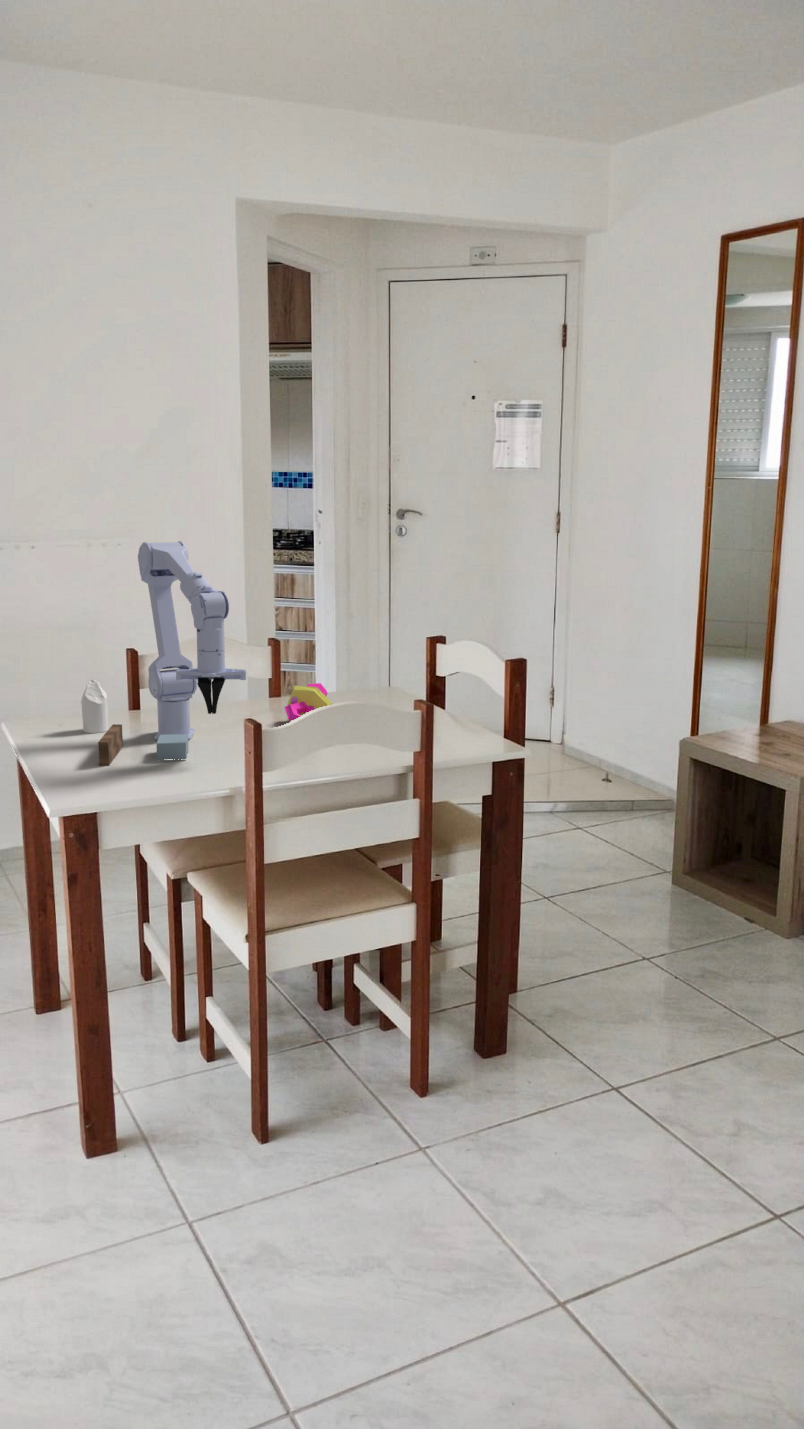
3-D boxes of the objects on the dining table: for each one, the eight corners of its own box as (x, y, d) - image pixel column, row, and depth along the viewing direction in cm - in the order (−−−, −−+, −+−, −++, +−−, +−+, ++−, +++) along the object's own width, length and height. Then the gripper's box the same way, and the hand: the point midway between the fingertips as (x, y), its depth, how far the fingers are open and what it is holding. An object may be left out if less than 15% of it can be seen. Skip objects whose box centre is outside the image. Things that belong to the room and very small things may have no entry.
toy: (271, 730, 268) (284, 697, 263) (294, 695, 283) (307, 663, 278) (310, 748, 268) (323, 715, 263) (331, 712, 283) (344, 680, 278)
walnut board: (113, 746, 248) (112, 724, 247) (122, 746, 248) (121, 724, 247) (99, 765, 232) (98, 742, 231) (109, 765, 232) (108, 742, 231)
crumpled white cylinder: (89, 683, 256) (75, 680, 259) (91, 734, 258) (77, 730, 262) (111, 679, 260) (97, 676, 264) (113, 730, 263) (99, 726, 266)
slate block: (160, 752, 244) (159, 734, 243) (188, 752, 245) (188, 734, 244) (157, 761, 237) (156, 743, 236) (186, 761, 237) (185, 743, 236)
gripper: (173, 652, 232) (175, 716, 235) (244, 652, 233) (245, 716, 236) (177, 647, 239) (179, 709, 242) (246, 647, 240) (247, 709, 243)
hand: (212, 712), depth 239 cm, fingers closed
